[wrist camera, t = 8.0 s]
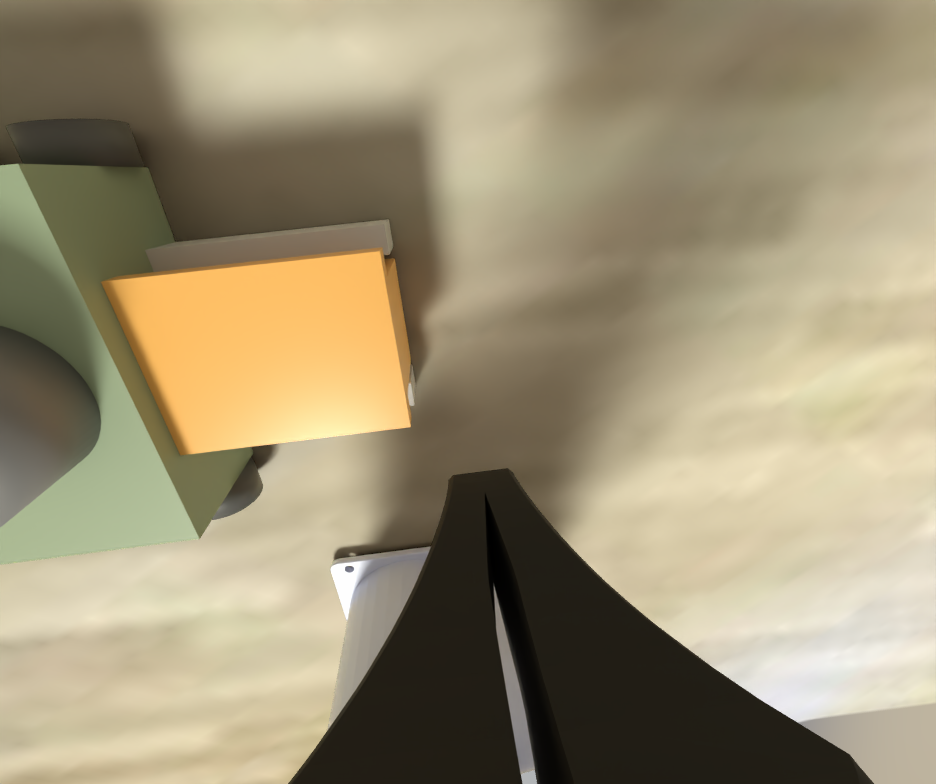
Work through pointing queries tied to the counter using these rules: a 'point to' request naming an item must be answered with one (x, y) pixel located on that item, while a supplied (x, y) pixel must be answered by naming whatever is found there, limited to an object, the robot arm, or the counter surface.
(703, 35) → the counter surface
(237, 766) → the counter surface
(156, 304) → the orange slab
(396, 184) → the counter surface
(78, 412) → the mower housing
